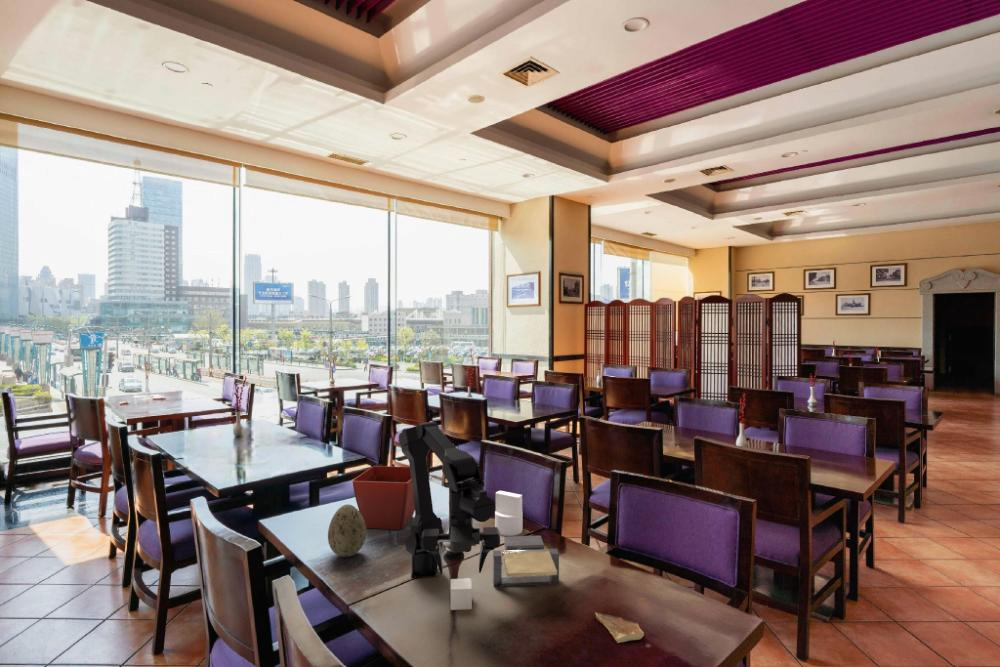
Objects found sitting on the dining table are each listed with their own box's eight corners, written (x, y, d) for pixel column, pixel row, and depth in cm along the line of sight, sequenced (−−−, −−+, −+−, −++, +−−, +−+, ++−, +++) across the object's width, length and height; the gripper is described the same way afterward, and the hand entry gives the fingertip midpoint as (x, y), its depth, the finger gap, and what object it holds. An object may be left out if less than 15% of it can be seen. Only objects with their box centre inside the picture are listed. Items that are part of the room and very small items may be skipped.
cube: (450, 610, 123) (450, 589, 123) (450, 599, 128) (450, 579, 128) (471, 609, 123) (471, 588, 123) (471, 598, 128) (471, 578, 128)
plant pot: (373, 511, 188) (373, 464, 188) (424, 513, 186) (424, 466, 185) (351, 531, 169) (350, 480, 169) (407, 535, 167) (407, 483, 166)
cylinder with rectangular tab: (527, 528, 172) (527, 492, 172) (513, 537, 165) (513, 500, 164) (504, 523, 177) (504, 488, 177) (489, 531, 170) (489, 495, 169)
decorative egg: (333, 567, 144) (333, 514, 144) (323, 553, 154) (323, 502, 153) (371, 558, 150) (371, 506, 150) (359, 544, 159) (359, 496, 159)
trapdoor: (506, 581, 124) (506, 569, 123) (500, 546, 142) (500, 536, 142) (558, 578, 125) (558, 567, 124) (544, 545, 143) (544, 535, 143)
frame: (493, 586, 134) (493, 555, 134) (493, 581, 137) (493, 550, 137) (558, 584, 135) (558, 553, 135) (556, 578, 138) (556, 548, 138)
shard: (594, 617, 121) (594, 609, 121) (624, 613, 123) (624, 605, 123) (615, 645, 110) (616, 637, 110) (648, 640, 112) (648, 632, 112)
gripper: (419, 522, 117) (419, 591, 117) (502, 520, 118) (502, 588, 118) (422, 505, 128) (422, 568, 128) (498, 503, 129) (498, 565, 130)
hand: (460, 572), depth 126 cm, fingers open, 9 cm apart
